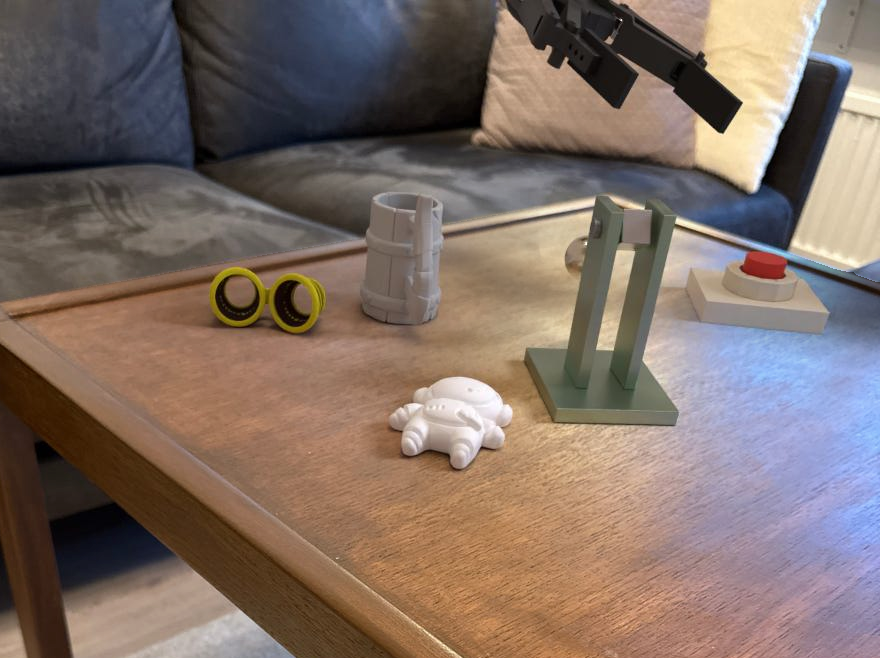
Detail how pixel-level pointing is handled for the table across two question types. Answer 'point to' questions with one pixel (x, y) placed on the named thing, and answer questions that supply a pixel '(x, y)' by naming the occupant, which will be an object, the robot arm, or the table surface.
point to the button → (764, 265)
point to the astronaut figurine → (453, 419)
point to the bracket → (620, 370)
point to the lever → (630, 239)
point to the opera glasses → (267, 300)
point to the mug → (403, 258)
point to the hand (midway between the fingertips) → (681, 105)
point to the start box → (755, 300)
